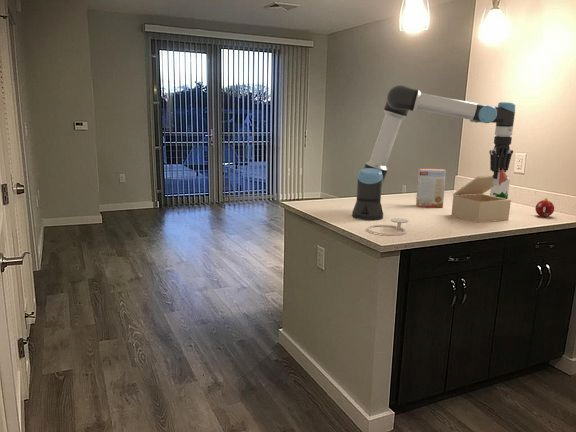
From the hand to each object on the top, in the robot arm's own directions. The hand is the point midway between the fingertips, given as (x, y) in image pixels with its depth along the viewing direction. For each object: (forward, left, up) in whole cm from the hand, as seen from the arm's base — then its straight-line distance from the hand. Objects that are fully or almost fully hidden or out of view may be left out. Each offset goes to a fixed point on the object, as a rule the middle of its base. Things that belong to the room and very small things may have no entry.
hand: (497, 185), depth 228 cm
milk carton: (+25, +21, -18) cm, 37 cm away
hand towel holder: (-61, 0, -18) cm, 64 cm away
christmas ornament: (+35, 0, -18) cm, 39 cm away
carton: (0, +9, -18) cm, 20 cm away
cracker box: (-6, +40, -18) cm, 44 cm away
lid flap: (0, +5, -4) cm, 6 cm away
